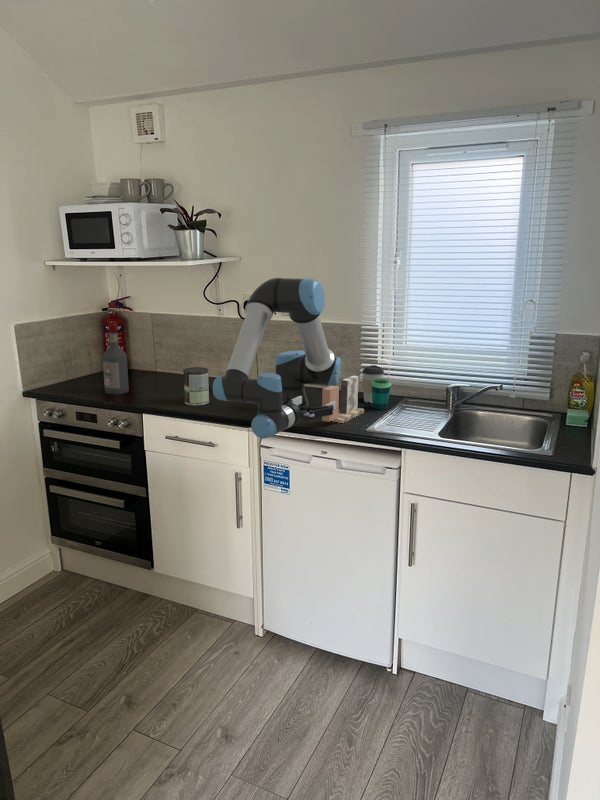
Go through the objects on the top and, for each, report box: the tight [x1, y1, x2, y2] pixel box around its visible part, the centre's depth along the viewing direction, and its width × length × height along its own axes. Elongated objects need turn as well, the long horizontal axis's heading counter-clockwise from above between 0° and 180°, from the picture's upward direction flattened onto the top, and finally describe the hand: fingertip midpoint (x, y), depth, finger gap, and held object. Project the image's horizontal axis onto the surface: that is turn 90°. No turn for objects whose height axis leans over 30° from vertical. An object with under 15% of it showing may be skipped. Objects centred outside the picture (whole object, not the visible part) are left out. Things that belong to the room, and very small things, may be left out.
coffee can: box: [182, 366, 210, 406], centre depth 257 cm, size 10×10×14 cm
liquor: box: [102, 324, 130, 396], centre depth 271 cm, size 9×9×30 cm
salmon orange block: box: [321, 385, 340, 423], centre depth 228 cm, size 7×3×12 cm, turn 150°
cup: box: [371, 377, 392, 410], centre depth 251 cm, size 8×8×12 cm
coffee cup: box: [362, 364, 385, 404], centre depth 262 cm, size 9×9×15 cm
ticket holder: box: [331, 375, 365, 424], centre depth 238 cm, size 19×8×14 cm, turn 149°
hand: (317, 402), depth 219 cm, fingers open, 13 cm apart
